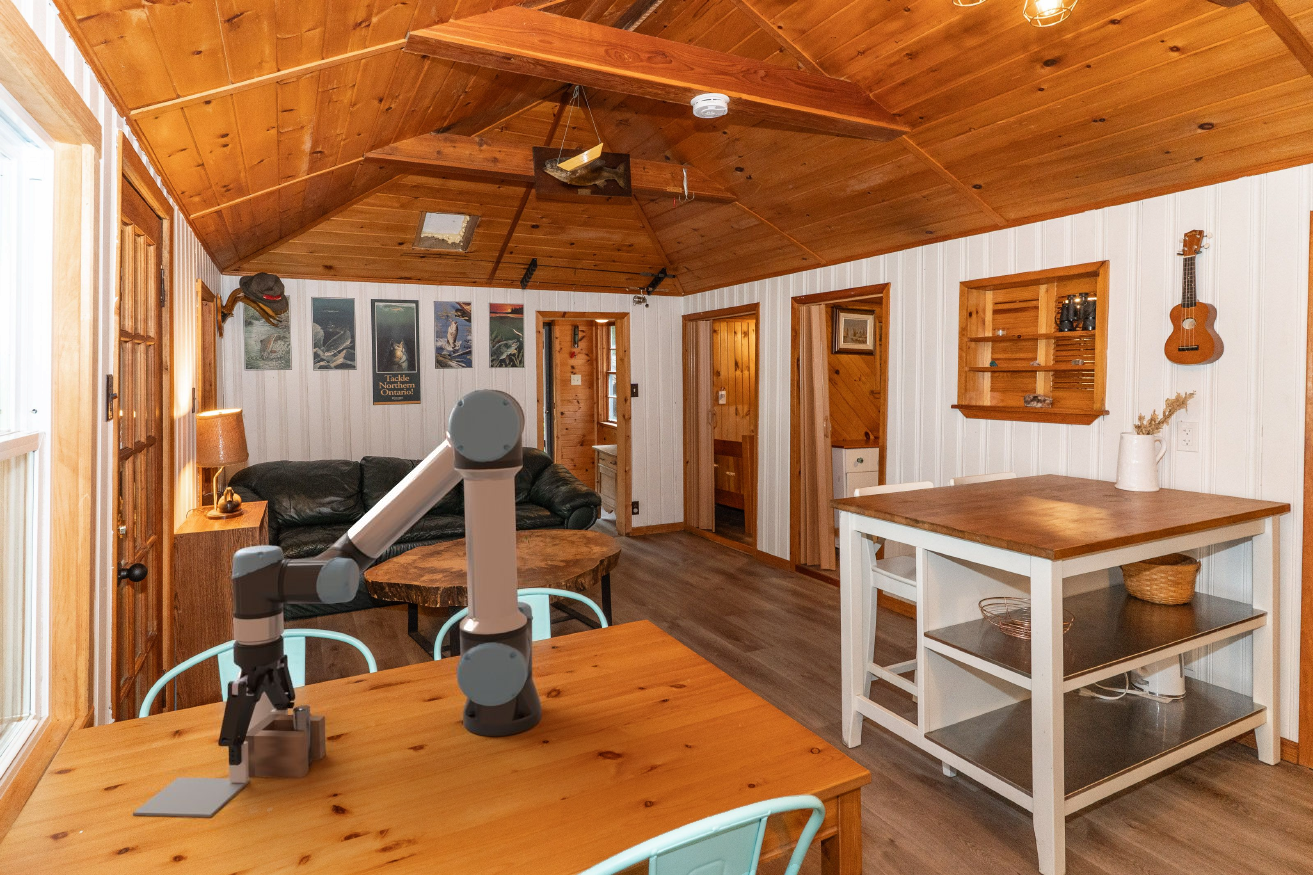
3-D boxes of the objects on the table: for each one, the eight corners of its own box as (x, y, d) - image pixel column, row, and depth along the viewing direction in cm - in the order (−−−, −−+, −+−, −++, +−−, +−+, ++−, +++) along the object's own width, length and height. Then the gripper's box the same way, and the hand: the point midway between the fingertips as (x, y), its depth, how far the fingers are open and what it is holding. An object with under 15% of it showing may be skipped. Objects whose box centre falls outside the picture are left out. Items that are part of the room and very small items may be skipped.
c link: (243, 776, 121) (242, 735, 120) (270, 752, 129) (269, 714, 128) (302, 777, 120) (301, 736, 120) (325, 753, 128) (324, 715, 128)
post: (314, 761, 126) (312, 705, 125) (306, 769, 123) (305, 711, 122) (299, 760, 126) (298, 704, 125) (291, 768, 123) (290, 711, 122)
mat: (249, 781, 119) (249, 778, 119) (210, 816, 109) (210, 814, 109) (178, 779, 119) (178, 777, 119) (132, 814, 109) (132, 812, 109)
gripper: (275, 616, 135) (277, 730, 136) (190, 662, 111) (192, 800, 112) (315, 617, 135) (316, 731, 136) (238, 663, 111) (240, 801, 112)
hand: (260, 762), depth 124 cm, fingers open, 11 cm apart
